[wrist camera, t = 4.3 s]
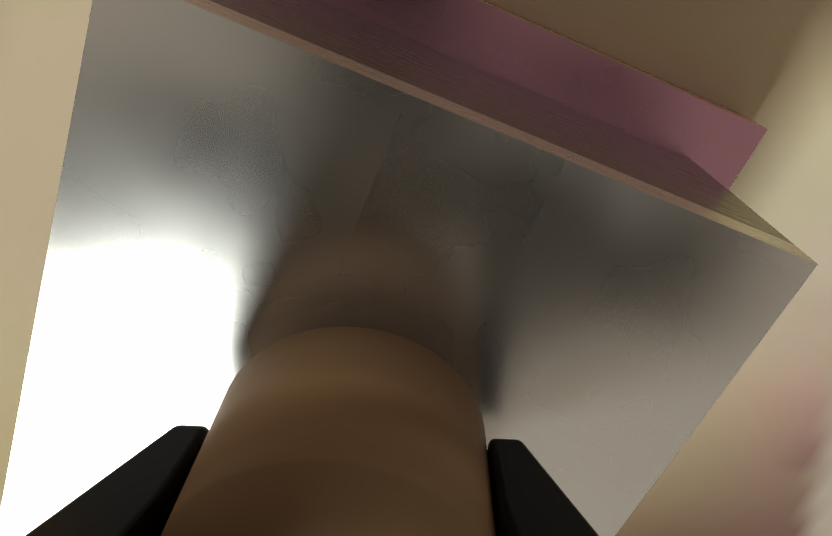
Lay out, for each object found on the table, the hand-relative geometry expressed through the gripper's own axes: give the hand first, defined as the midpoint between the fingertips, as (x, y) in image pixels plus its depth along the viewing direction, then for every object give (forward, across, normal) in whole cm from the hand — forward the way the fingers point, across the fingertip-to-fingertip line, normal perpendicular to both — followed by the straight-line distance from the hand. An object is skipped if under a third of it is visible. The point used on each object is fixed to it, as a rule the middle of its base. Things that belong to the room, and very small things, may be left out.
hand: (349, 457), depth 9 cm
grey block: (+6, 0, 0) cm, 6 cm away
